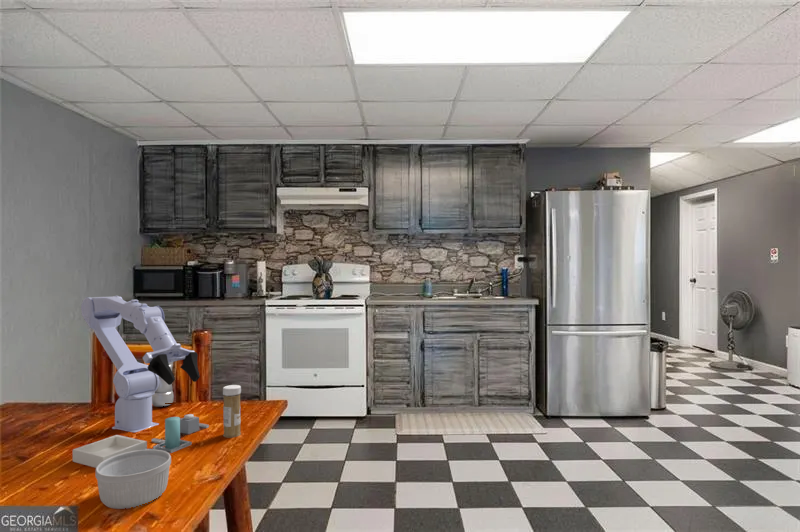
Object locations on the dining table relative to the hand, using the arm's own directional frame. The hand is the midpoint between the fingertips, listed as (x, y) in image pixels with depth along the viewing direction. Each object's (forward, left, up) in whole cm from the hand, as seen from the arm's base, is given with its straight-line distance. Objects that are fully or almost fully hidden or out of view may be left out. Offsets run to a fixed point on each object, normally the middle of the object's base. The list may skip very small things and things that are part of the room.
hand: (184, 380), depth 126 cm
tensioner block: (0, -8, -16) cm, 18 cm away
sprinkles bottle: (+7, +9, -16) cm, 20 cm away
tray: (-9, -14, -16) cm, 23 cm away
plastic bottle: (-34, +21, -16) cm, 43 cm away
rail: (-6, +4, -16) cm, 18 cm away
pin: (0, -4, -16) cm, 17 cm away
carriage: (-6, +6, -16) cm, 18 cm away
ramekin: (+14, -25, -17) cm, 33 cm away
